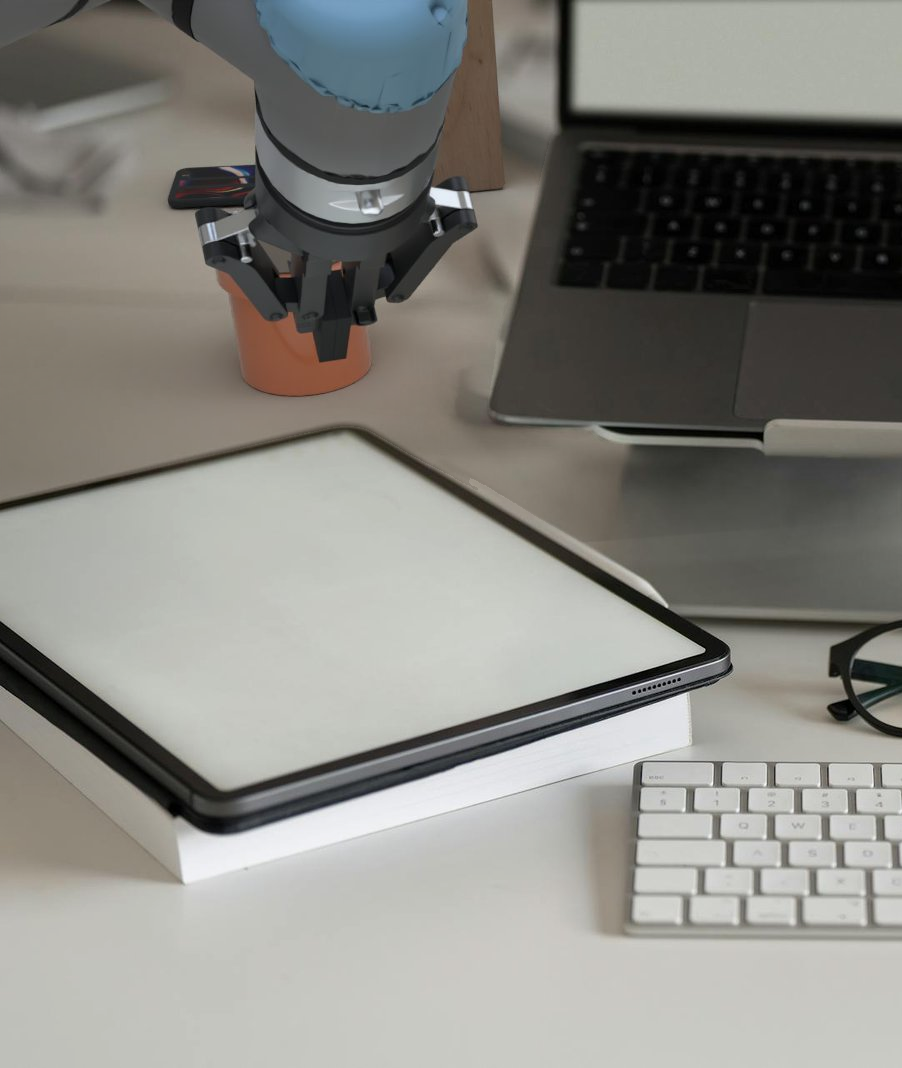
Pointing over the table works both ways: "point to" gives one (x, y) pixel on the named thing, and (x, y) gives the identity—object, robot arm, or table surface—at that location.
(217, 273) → the flower pot
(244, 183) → the smartphone
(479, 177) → the wooden block
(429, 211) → the robot arm
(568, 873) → the table surface
